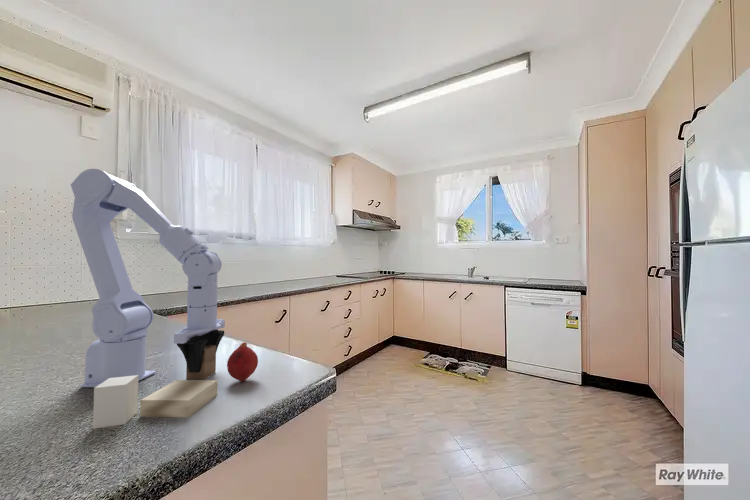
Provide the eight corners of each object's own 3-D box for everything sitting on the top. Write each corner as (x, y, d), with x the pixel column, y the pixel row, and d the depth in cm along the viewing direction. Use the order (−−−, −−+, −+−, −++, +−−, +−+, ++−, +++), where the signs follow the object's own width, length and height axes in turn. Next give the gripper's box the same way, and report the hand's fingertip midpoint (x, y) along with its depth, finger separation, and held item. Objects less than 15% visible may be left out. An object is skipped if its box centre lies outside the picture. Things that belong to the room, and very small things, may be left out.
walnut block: (186, 379, 62) (186, 350, 62) (198, 371, 66) (198, 345, 66) (204, 379, 62) (204, 350, 62) (215, 372, 66) (216, 345, 66)
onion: (245, 388, 57) (246, 347, 57) (220, 386, 58) (220, 345, 59) (263, 377, 63) (263, 339, 63) (239, 375, 64) (239, 338, 64)
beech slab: (140, 419, 47) (140, 400, 47) (175, 396, 55) (176, 380, 55) (188, 419, 47) (188, 400, 47) (217, 396, 55) (217, 380, 55)
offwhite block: (92, 428, 44) (94, 388, 44) (108, 415, 47) (109, 378, 48) (125, 424, 45) (126, 384, 45) (137, 411, 49) (138, 375, 49)
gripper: (198, 311, 57) (197, 381, 57) (237, 301, 72) (236, 357, 71) (164, 311, 57) (162, 381, 57) (209, 301, 72) (208, 357, 71)
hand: (201, 367), depth 64 cm, fingers closed on walnut block, 4 cm apart
